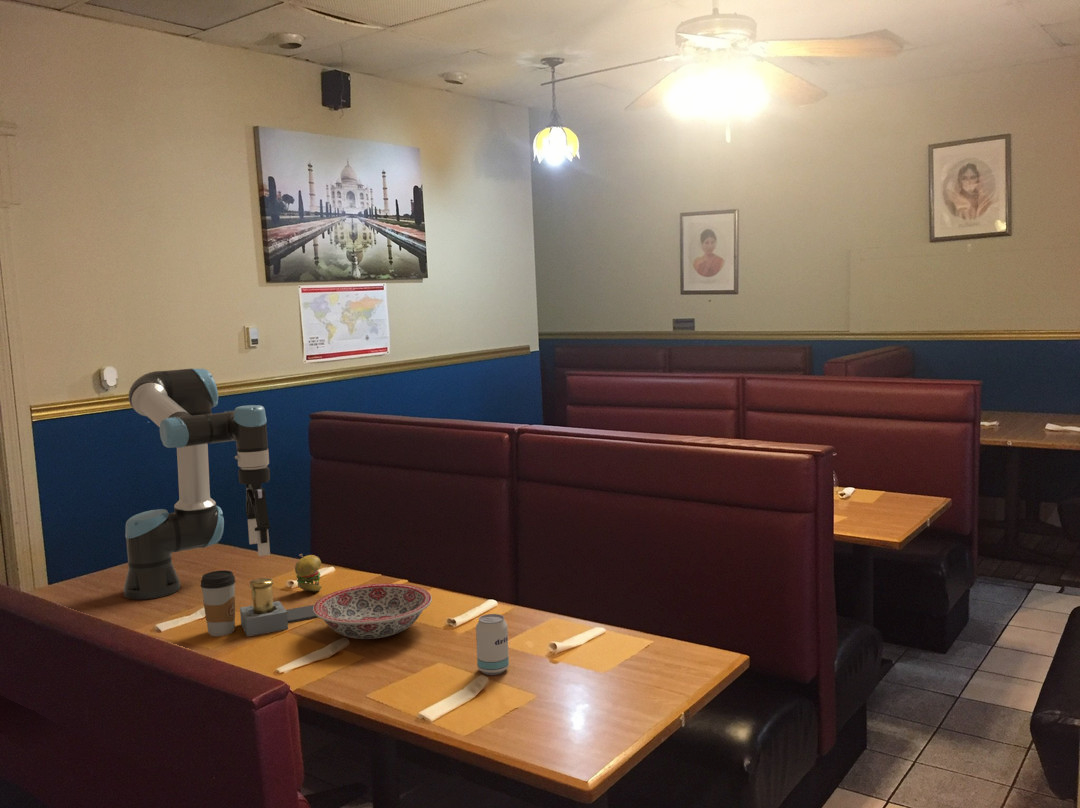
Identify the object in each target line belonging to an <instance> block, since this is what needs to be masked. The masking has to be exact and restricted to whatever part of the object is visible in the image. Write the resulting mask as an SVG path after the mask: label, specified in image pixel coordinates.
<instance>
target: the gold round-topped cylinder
mask: <svg viewBox="0 0 1080 808" xmlns="http://www.w3.org/2000/svg"><path fill="white" fill-rule="evenodd" d="M273 581H274V580H273V579H272V578H269V577H267V578H266V577H262V578H261V577H260V578H257V579H252V580H251V581H250V582H249V586H250V588H251V603H252V606H253V614H259V615H260V614H266V613H271V612H273V611H274V610H273V602H274V597H273V584H274V582H273Z"/></svg>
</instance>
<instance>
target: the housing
mask: <svg viewBox="0 0 1080 808" xmlns="http://www.w3.org/2000/svg"><path fill="white" fill-rule="evenodd" d="M273 610H274V611H273V612H271V613H266V614H260V615H259V614H253V605H248V606H242V607H239V612H240V613H239V615H240V625H241V627H242V629H243V631H244V633H245V635H246V637H253V636H258V635H259V636H260V635H264V634H270V633H274V632H279V631H284V630H289V623H288V620H287V611H286V610H287V609H285V607H284V605H283V604H282V603H281V601H280V600H276V601H273Z"/></svg>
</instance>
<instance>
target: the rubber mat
mask: <svg viewBox="0 0 1080 808" xmlns="http://www.w3.org/2000/svg"><path fill="white" fill-rule="evenodd" d="M313 606H314V604H311V605H306V606H300V607H293V608H288V609H285V610H286V611H287V620H288V624H290V623H295V622H300V621H306V620H307V621H308V620H311V619H317V618H319V617H317V616H316V615H315V614H314V612H313Z"/></svg>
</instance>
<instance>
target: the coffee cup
mask: <svg viewBox="0 0 1080 808" xmlns="http://www.w3.org/2000/svg"><path fill="white" fill-rule="evenodd" d="M236 582H237V581H236V577H235V575H234V573H233V571H231V570H227V569H225V570H214V571H210V572H207V573H205V574H203V575H202V576H201V580H200V587H201V591H202V599H203V601H202V602H203V608H204V609H203V610H204V614H205V621H206V627H207V632H208V634H209V636H212V637H223V636H227V635H231V634H232V633H233V632H234V630H235V628H236V593H235V592H236V587H235V586H236Z"/></svg>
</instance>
